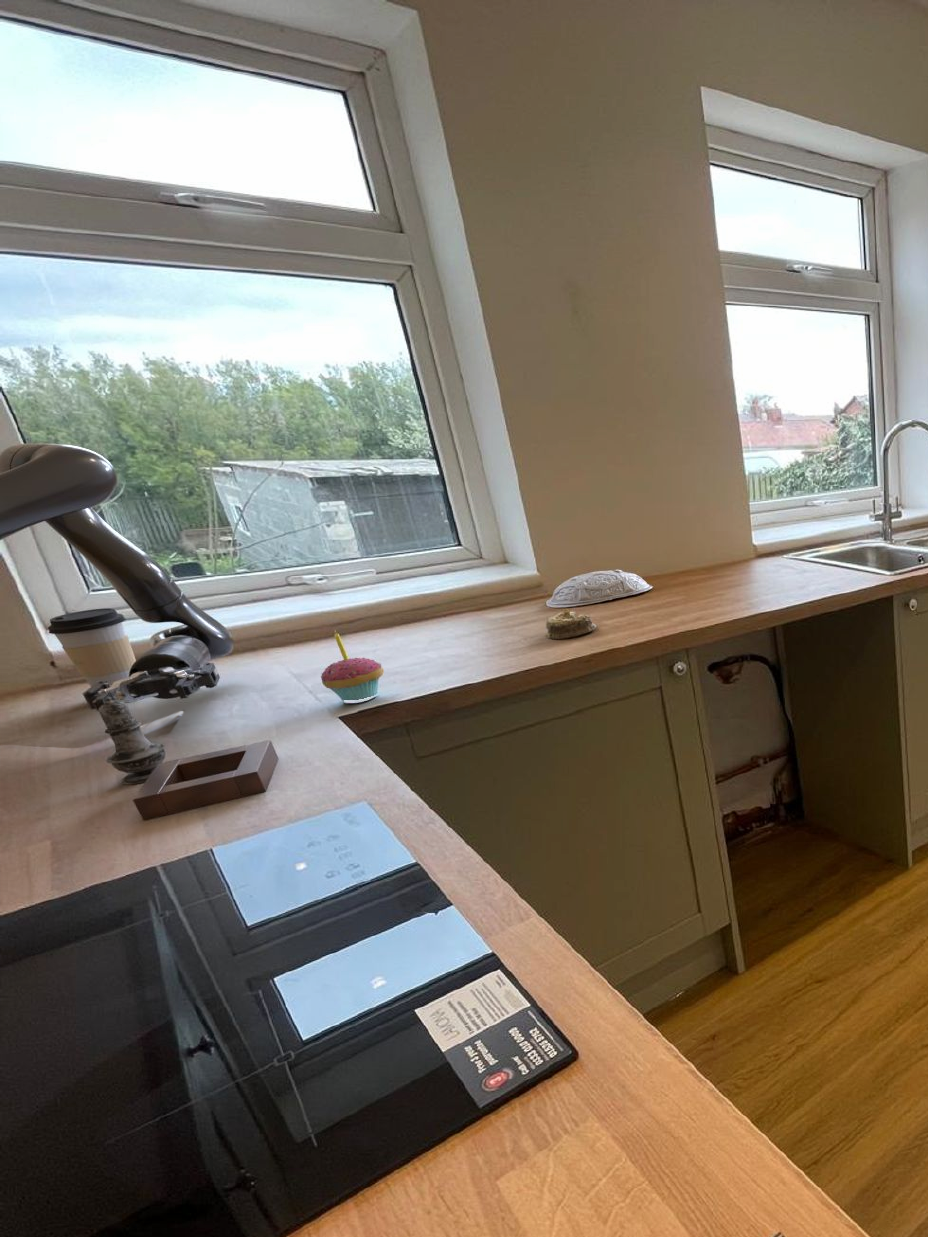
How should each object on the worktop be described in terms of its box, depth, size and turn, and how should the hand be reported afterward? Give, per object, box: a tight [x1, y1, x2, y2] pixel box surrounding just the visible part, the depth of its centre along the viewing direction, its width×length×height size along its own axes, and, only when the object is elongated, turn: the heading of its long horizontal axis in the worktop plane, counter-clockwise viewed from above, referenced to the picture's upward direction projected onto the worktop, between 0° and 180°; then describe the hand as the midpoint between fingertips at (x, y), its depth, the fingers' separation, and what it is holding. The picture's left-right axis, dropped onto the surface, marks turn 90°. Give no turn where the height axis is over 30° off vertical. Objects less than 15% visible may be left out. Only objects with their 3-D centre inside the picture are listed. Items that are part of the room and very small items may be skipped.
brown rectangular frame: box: [132, 739, 279, 821], centre depth 102 cm, size 12×12×3 cm
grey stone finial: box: [98, 696, 166, 786], centre depth 104 cm, size 6×6×12 cm
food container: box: [545, 569, 653, 609], centre depth 189 cm, size 16×25×7 cm, turn 125°
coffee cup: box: [47, 607, 137, 700], centre depth 135 cm, size 9×9×15 cm
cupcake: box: [320, 629, 385, 701], centre depth 128 cm, size 9×8×12 cm
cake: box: [545, 607, 597, 640], centre depth 161 cm, size 10×10×5 cm
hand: (142, 699), depth 112 cm, fingers open, 8 cm apart
